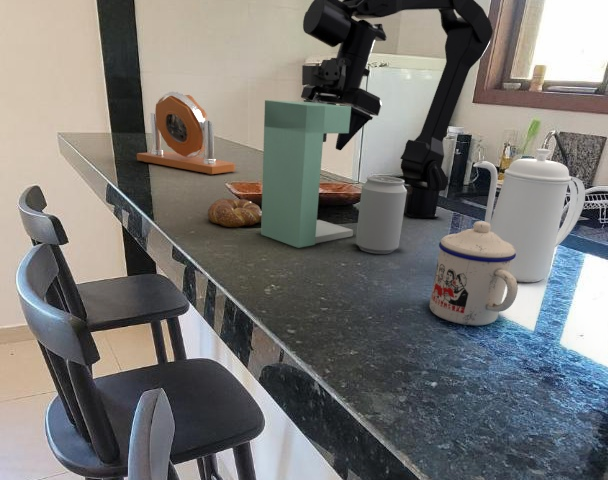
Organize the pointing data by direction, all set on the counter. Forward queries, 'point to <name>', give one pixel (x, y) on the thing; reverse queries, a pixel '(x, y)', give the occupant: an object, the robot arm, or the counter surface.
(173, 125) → the desk clock
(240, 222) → the pretzel
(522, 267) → the coffeepot
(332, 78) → the robot arm
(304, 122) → the coffee maker
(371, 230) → the can
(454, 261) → the teacup with lid
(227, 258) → the counter surface
